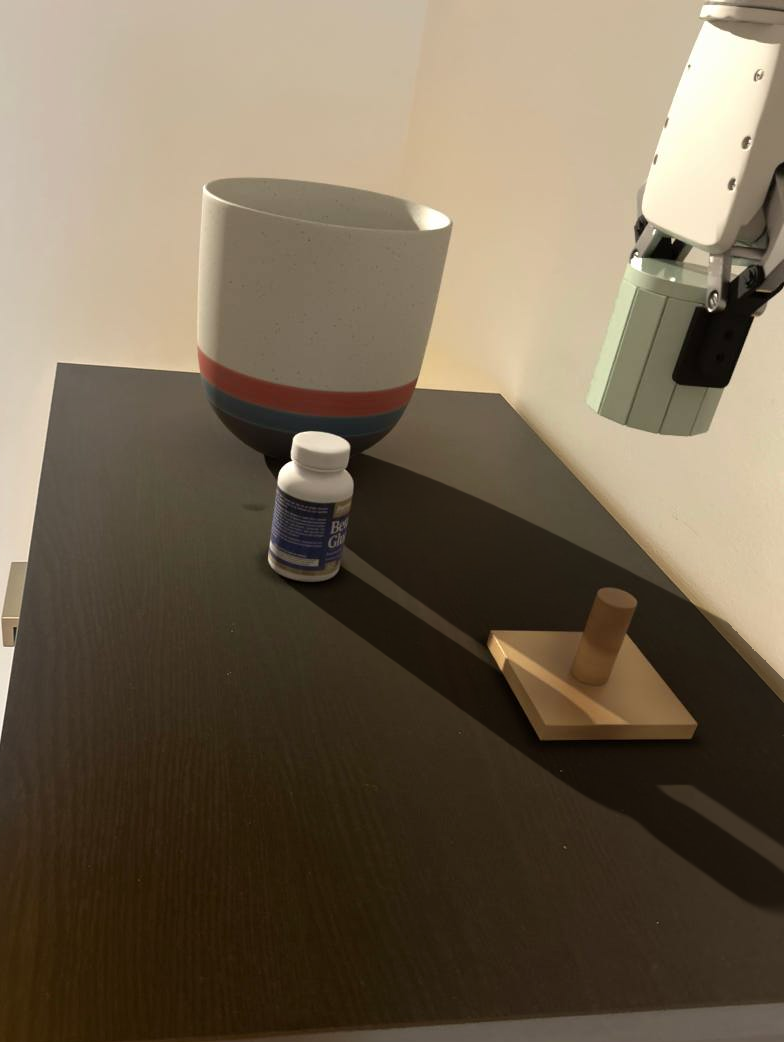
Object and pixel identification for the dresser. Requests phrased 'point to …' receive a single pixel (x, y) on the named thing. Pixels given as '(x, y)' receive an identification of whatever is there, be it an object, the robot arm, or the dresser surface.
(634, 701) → the peg stand
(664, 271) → the cup
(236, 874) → the dresser surface
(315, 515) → the pill bottle
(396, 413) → the planter
